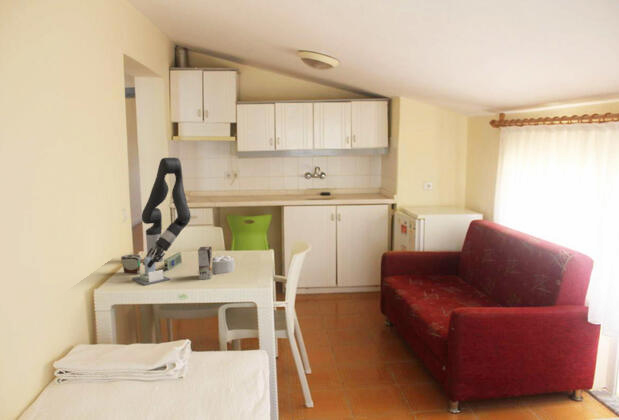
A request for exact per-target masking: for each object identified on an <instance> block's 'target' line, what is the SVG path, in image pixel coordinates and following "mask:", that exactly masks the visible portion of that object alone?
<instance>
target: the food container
mask: <svg viewBox="0 0 619 420" xmlns="http://www.w3.org/2000/svg"><path fill="white" fill-rule="evenodd" d="M120 260H121V261H122V268H123V269H122V270H123V273H124V274H126V275H127V274H128V275H140V274H141V260H142V257H141V255H140V254H126V255H122V256H121V257H120Z"/></svg>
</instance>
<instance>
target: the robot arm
mask: <svg viewBox="0 0 619 420" xmlns="http://www.w3.org/2000/svg"><path fill="white" fill-rule="evenodd" d="M171 174H174V176H175V177H174V178H175V181H174V184H173V187H172V192H171V197H172V201H173V204H174V207H175V210H176V214H177V217H176V218H175V219H174V221H173V222H172V223H170V224H169V225H168V226H167V228H166V229H165V230H164V232H162V229H163V228H162V227H163V226H162V212H161V209H160V208H158V207H159V206H160V205H161V204H162V203H163V202H164V201H165V200H166V198H167V196H168V193H169V185H168V183H167V181H166V176H167V175H171ZM183 179H184V178H183V170H182V163H181V161H180V159H179V157H162V158H161V159H160V161H159V164H158V168H157V172H156V177H155V179H154V180H155V181H154V183H153V186H152V188H151V191H150V194H149V197H148V200H147V202H146V203H145V206H144V208H143V210H142V213H141V221H142V222H143V223H144V224H146V225H149V224H150V225H151V226H150V227H148V228H147V229H145V237H146V239H145V241H146V255H145V257H149V256H152V257H153V258H152V260H151V261H150V262H149V263H148V265H147V266H148V267H149V268H151V266H152V265H153V264H154V263H155V264H156V263H158V262H162V261H164V256H165V255H166V253H165V252H167V251H168V250H169V249H170V248H171V246H172V245H173V243H174V242H175V240H176V239H177V237H179V235H180V233H181V232H182V230H183V229H185V228H186V226H187V225H188V224H189V222H190V221H191V217H192V215H191V211H190V209H189V205H188V203H187V202H188V201H187V198H186V194H185V189H184V181H183ZM164 251H165V252H164ZM142 265H143V266H144V267H145V265H144V262H143V263H142Z"/></svg>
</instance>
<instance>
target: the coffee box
mask: <svg viewBox="0 0 619 420" xmlns="http://www.w3.org/2000/svg"><path fill="white" fill-rule="evenodd" d="M212 249H213V248H212V246H200V247H199V248H198V250H197V256H198V257H197V259H198V260H197V261H198V279H199V280H211V279H212V277H213V275H214V274H213V268H212V258H213V251H212Z"/></svg>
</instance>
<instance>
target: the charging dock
mask: <svg viewBox="0 0 619 420" xmlns="http://www.w3.org/2000/svg"><path fill="white" fill-rule="evenodd" d="M131 280H132V281H133V282H136V283H138V284H140V285H142V286H150V285H154V284H159V283H164V282H168V281H170V280H171V279H170V277H167V276H165V275H164V272H163V269H160V270H156V271H153V272H148V275H147V274H145V273H140V274H139V276H136V277H131Z"/></svg>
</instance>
